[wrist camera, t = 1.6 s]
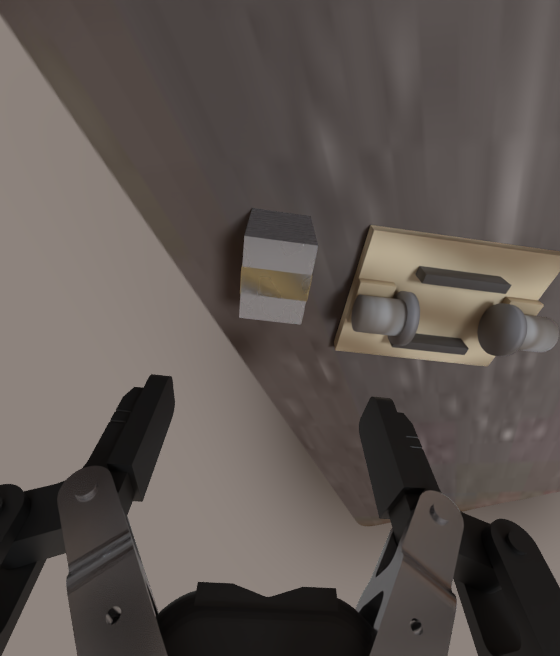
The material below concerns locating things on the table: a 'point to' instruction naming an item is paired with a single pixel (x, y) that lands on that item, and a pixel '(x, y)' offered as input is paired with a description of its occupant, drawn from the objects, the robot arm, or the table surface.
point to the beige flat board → (447, 298)
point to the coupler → (277, 266)
